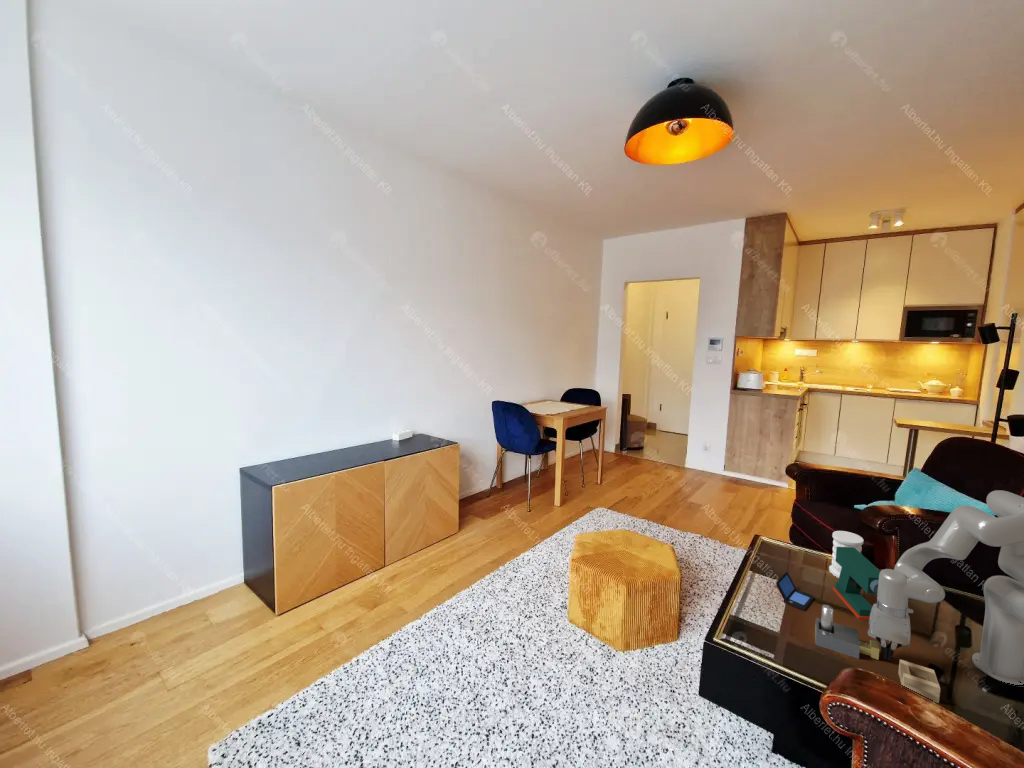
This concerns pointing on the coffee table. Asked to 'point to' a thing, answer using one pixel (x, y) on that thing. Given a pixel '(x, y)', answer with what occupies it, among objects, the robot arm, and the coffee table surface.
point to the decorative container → (843, 541)
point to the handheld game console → (793, 593)
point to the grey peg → (827, 618)
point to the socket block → (838, 639)
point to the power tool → (856, 580)
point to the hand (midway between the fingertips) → (886, 656)
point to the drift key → (870, 649)
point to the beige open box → (919, 680)
